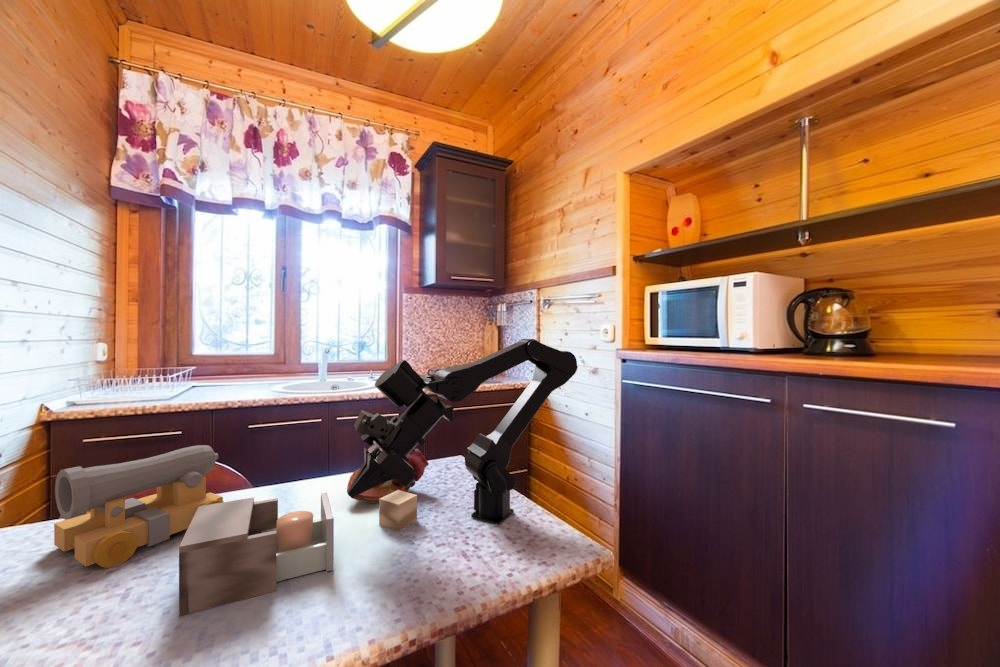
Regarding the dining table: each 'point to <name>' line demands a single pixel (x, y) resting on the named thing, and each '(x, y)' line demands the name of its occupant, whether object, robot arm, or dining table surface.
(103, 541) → the toy cannon
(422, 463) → the anatomical model
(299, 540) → the tan rounded cylinder
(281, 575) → the drawer
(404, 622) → the dining table surface
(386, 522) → the block
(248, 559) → the housing
